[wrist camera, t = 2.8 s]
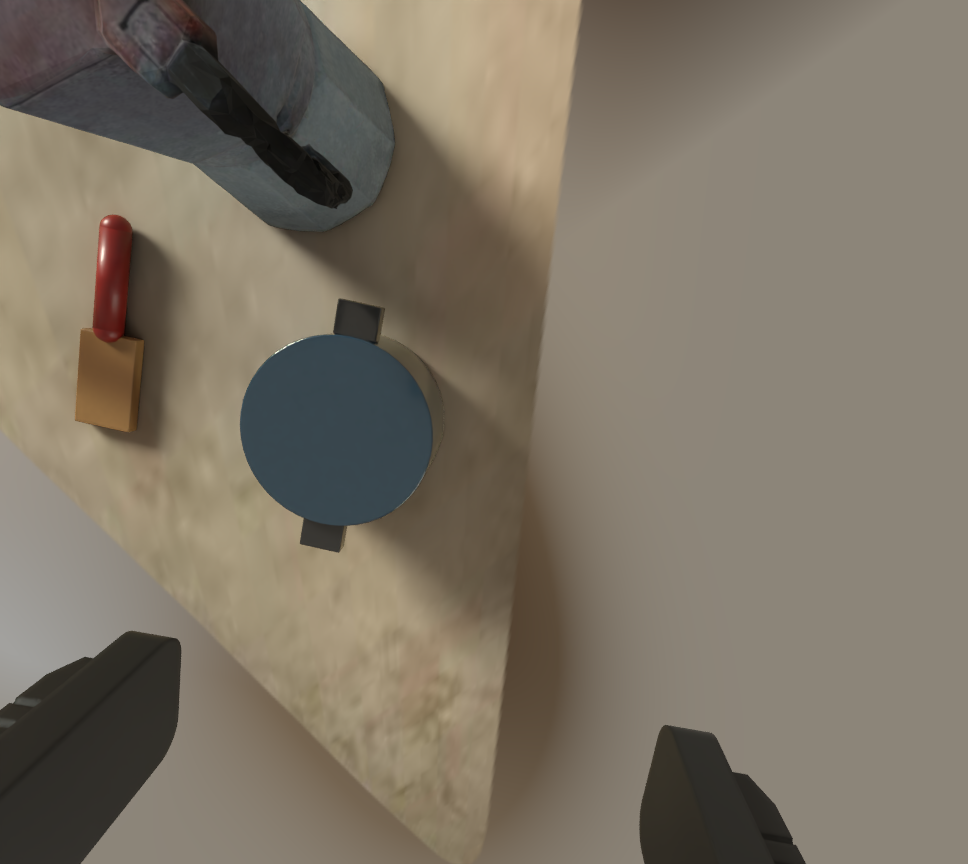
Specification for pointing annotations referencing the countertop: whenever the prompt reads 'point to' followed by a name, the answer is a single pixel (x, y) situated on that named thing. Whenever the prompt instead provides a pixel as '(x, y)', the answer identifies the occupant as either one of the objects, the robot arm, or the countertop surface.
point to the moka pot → (211, 95)
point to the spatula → (110, 339)
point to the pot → (342, 425)
